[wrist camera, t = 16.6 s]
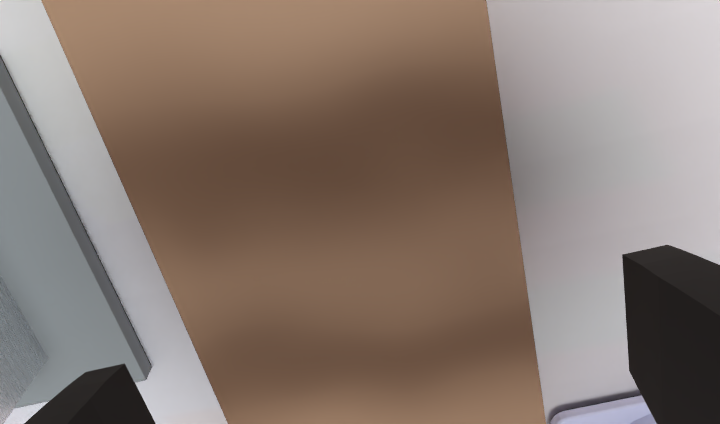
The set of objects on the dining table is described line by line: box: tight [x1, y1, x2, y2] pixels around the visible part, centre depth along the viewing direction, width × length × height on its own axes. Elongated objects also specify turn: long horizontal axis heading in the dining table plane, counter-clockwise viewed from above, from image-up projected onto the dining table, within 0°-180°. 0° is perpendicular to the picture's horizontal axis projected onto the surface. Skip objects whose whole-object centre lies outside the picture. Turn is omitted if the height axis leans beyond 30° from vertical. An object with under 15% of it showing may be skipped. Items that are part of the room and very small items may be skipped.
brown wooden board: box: [41, 0, 546, 424], centre depth 15 cm, size 22×9×2 cm, turn 13°
